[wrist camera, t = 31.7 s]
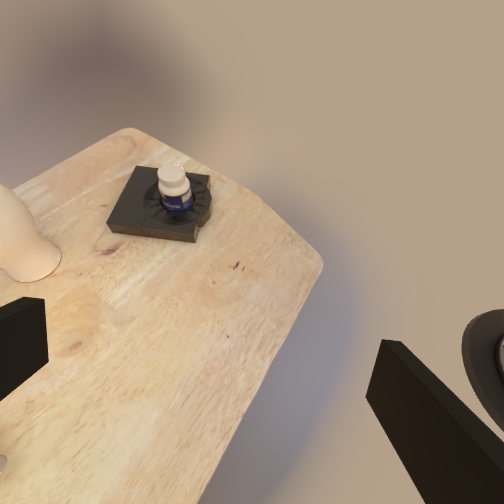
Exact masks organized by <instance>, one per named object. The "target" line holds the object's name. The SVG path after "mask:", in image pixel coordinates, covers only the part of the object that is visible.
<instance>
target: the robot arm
mask: <svg viewBox="0 0 504 504" xmlns="http://www.w3.org/2000/svg"><path fill="white" fill-rule="evenodd" d="M48 362H49V359H48V344H47V330H46V315H45V301H44V299H39V298H31V297H22V298H20V299H17V300H15V301H13V302H11V303H8V304H6V305H4V306H2V307H0V401H1V400H3V399H4V398H5V397H6V396H7V395H9V394H10V393H11V392H12V391H14V390H15V389H16V388H17V387H18V386H20V385H21V384H22V383H23V382H25V381H26V380H27V379H28V378H30V377H31V376H32V375H33V374H34V373H36V372H37V371H38V370H39V369H41V368H42V367H43V366H44V365H45V364H47V363H48ZM494 362H495V367H496V370H497V373H498V376H499V378H500V380H501V382H502V384H503V386H504V334H503V335H501V336H500V337H499V338H498V340H497V341H496V344H495V347H494ZM366 399H367V401H368V402H369V404H370V406H371V408H372V409H373V411H374V413H375V415H376V417H377V418H378V420H379V422H380V424H381V426H382V427H383V429H384V431H385V432H386V434H387V436H388V438H389V440H390V442H391V443H392V445H393V447H394V449H395V450H396V452H397V454H398V456H399V458H400V459H401V461H402V463H403V465H404V466H405V468H406V470H407V472H408V474H409V475H410V477H411V479H412V481H413V482H414V484H415V486H416V488H417V490H418V491H419V493H420V495H421V497H422V498H423V500H424V502H425V504H504V442H503V441H502V440H501V439H500V438H499V437H498V436H497V435H496V434H495V433H494V432H493V431H492V430H491V429H490V428H488V426H487V425H485V424H484V423H483V422H482V421H481V420H480V419H479V418H478V417H477V416H476V415H475V414H474V413H473V412H472V411H471V410H470V409H469V408H468V407H467V406H466V405H465V404H464V403H463V402H462V401H461V400H460V399H459V398H458V397H457V396H456V395H455V394H454V393H453V392H452V391H451V390H450V389H449V388H448V387H447V386H446V385H445V384H444V383H443V382H442V381H441V380H440V379H438V377H437V376H436V375H435V374H433V373H432V372H431V371H430V370H429V369H428V368H427V367H426V366H425V365H424V364H423V363H422V362H421V361H420V360H419V359H418V358H417V357H416V356H415V355H414V354H413V353H412V352H411V351H410V350H409V349H408V348H407V347H406V346H405V345H404V344H403V343H402V342H401V341H393V340H384V339H382V341H381V344H380V348H379V351H378V355H377V358H376V362H375V366H374V369H373V372H372V376H371V379H370V383H369V387H368V390H367V394H366Z"/></svg>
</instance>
